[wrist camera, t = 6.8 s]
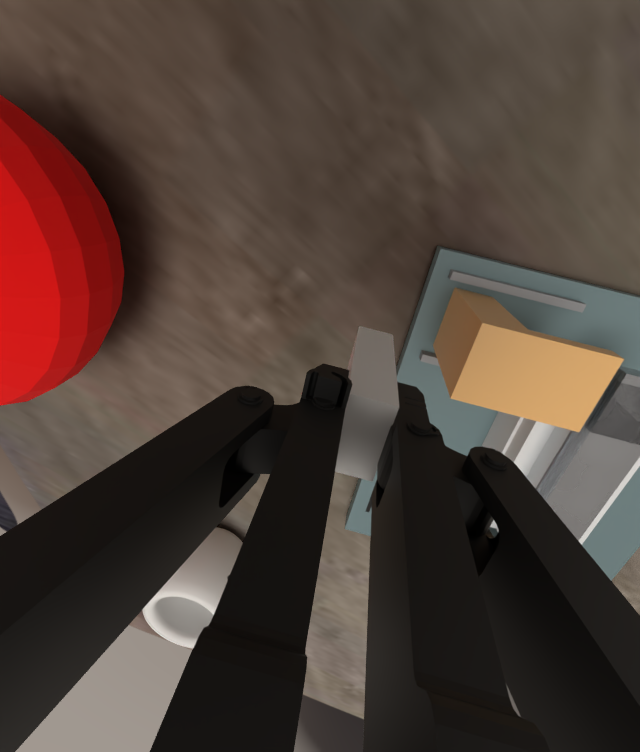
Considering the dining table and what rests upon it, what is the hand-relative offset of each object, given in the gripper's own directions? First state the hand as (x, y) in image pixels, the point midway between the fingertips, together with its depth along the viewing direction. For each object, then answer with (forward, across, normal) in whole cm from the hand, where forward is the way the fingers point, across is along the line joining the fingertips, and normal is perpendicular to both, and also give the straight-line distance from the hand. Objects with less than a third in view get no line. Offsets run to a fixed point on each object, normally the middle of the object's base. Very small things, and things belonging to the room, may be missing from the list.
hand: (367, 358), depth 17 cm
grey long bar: (+5, +14, -8) cm, 17 cm away
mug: (+12, -9, -26) cm, 30 cm away
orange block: (+9, +8, 0) cm, 12 cm away
